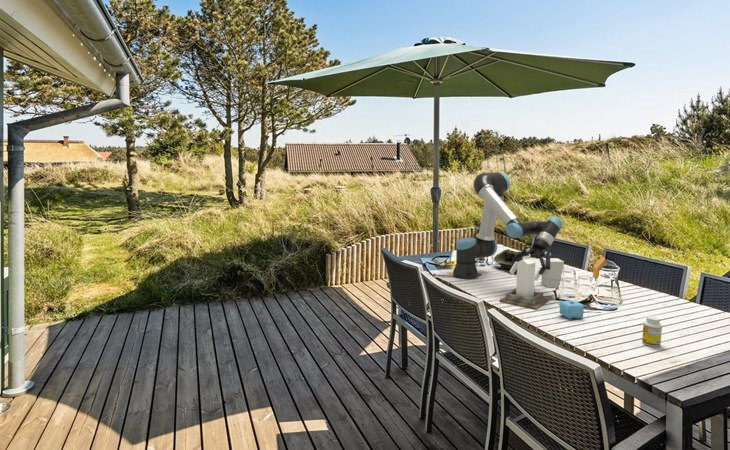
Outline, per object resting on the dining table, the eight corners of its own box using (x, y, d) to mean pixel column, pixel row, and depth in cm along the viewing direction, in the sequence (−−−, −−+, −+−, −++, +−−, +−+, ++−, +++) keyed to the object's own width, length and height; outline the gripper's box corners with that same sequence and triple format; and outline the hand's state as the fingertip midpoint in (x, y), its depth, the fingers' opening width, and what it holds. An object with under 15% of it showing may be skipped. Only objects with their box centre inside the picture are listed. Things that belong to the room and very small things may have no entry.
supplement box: (557, 283, 228) (558, 258, 226) (563, 287, 220) (564, 261, 218) (540, 283, 229) (541, 257, 227) (546, 287, 221) (547, 261, 219)
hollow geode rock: (526, 283, 246) (542, 265, 247) (514, 270, 243) (530, 252, 243) (501, 271, 273) (516, 255, 274) (490, 259, 270) (504, 243, 270)
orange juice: (594, 296, 204) (596, 258, 202) (591, 291, 213) (594, 255, 210) (611, 297, 201) (614, 259, 199) (608, 293, 210) (611, 256, 207)
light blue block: (560, 320, 172) (561, 303, 171) (552, 315, 178) (553, 299, 177) (586, 319, 173) (587, 302, 172) (577, 314, 179) (578, 298, 178)
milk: (533, 299, 196) (536, 256, 193) (525, 302, 193) (528, 257, 190) (523, 296, 202) (525, 254, 199) (515, 298, 198) (517, 255, 195)
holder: (499, 301, 197) (499, 294, 196) (513, 293, 210) (514, 286, 210) (536, 309, 185) (536, 301, 184) (549, 300, 198) (549, 292, 197)
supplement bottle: (642, 339, 151) (645, 314, 150) (660, 343, 148) (663, 317, 146) (641, 344, 147) (643, 318, 146) (659, 348, 143) (662, 321, 142)
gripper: (569, 251, 192) (549, 286, 186) (524, 243, 213) (505, 275, 207) (563, 241, 188) (543, 277, 182) (518, 235, 209) (498, 266, 203)
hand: (522, 276), depth 195 cm, fingers open, 13 cm apart
